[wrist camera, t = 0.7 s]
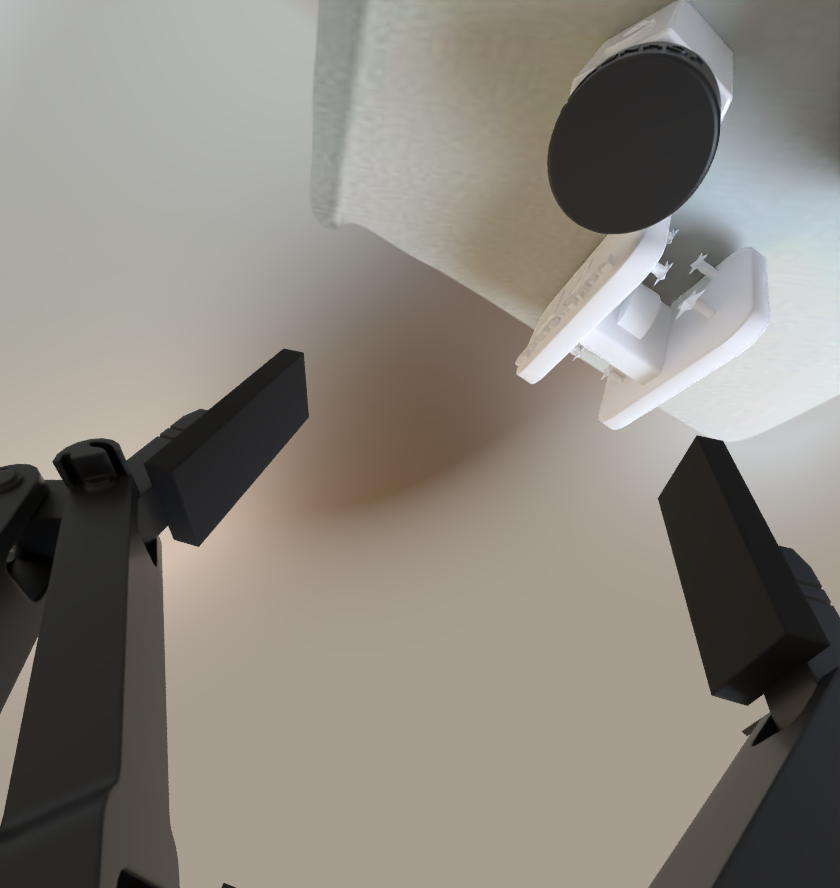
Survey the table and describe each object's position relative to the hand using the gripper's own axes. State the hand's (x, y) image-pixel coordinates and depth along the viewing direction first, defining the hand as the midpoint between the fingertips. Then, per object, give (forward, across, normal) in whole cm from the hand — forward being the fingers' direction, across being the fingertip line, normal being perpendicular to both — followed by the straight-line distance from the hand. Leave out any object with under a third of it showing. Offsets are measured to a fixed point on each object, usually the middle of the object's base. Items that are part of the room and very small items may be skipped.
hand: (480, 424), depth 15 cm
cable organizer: (+31, +10, -2) cm, 32 cm away
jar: (+28, +6, +11) cm, 30 cm away
